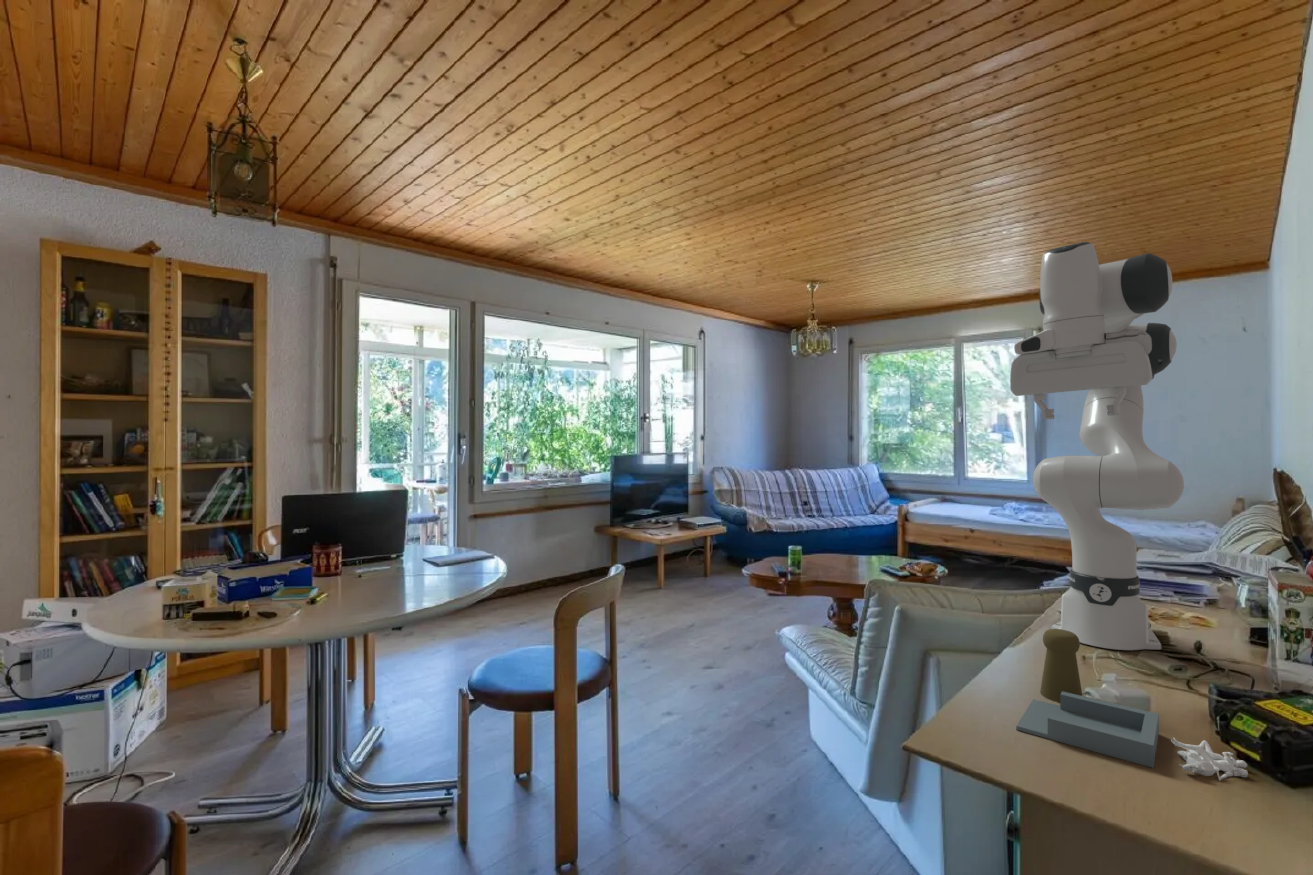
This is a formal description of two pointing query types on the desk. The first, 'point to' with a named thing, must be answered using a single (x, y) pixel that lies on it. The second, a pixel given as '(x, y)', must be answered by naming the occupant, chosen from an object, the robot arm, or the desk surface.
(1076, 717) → the tray
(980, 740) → the desk surface
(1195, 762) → the figurine
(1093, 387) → the robot arm
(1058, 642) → the cork
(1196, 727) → the desk surface
